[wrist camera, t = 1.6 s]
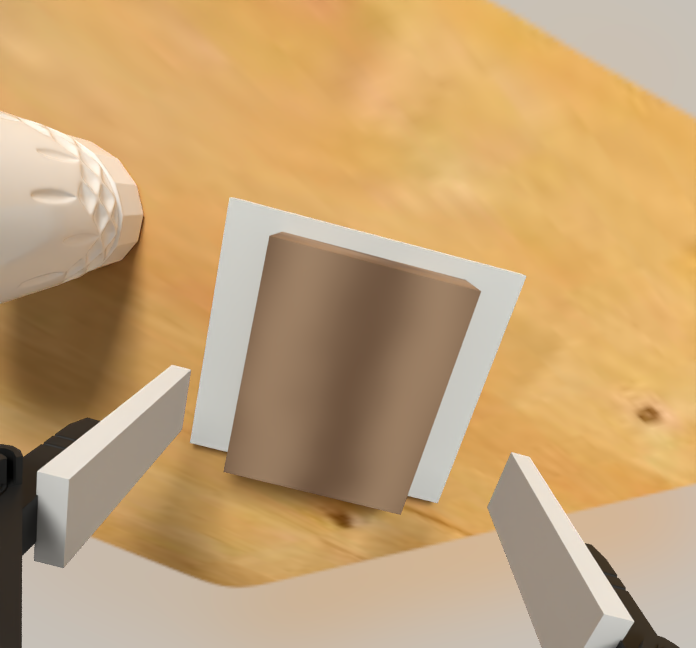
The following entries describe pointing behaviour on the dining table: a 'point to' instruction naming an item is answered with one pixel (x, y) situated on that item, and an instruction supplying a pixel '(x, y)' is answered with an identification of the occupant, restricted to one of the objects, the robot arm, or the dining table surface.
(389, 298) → the walnut board
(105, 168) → the white cup
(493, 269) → the rubber mat
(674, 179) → the dining table surface
